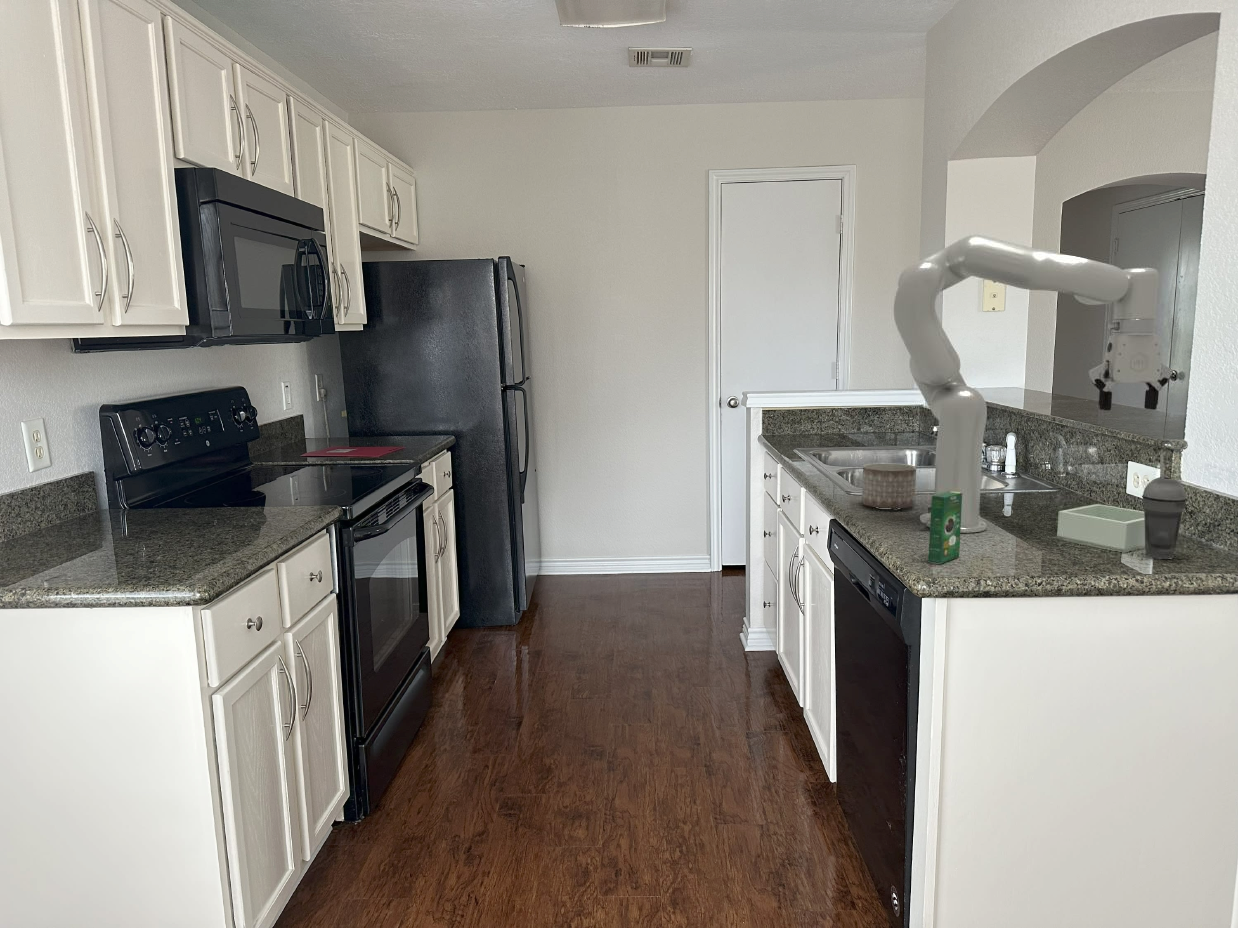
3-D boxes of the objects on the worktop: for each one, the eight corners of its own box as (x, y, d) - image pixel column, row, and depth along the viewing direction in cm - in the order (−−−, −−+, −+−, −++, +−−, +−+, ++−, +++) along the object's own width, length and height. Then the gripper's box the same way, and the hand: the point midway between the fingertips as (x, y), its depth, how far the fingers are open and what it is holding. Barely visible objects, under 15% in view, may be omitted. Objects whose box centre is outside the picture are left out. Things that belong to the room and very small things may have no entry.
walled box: (1124, 553, 168) (1126, 523, 167) (1056, 539, 180) (1058, 511, 179) (1162, 543, 175) (1165, 515, 174) (1095, 530, 187) (1097, 503, 186)
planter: (922, 506, 216) (924, 465, 215) (902, 514, 207) (904, 472, 205) (874, 500, 224) (875, 461, 223) (853, 508, 215) (854, 467, 213)
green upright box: (946, 554, 169) (949, 489, 167) (960, 557, 167) (963, 491, 165) (926, 562, 164) (929, 494, 162) (941, 565, 162) (944, 496, 160)
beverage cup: (1165, 563, 161) (1174, 458, 158) (1128, 554, 167) (1136, 453, 164) (1190, 558, 164) (1199, 455, 161) (1153, 550, 170) (1161, 450, 167)
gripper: (1102, 328, 176) (1097, 411, 179) (1186, 327, 176) (1179, 410, 179) (1083, 329, 184) (1077, 408, 186) (1163, 328, 184) (1157, 407, 186)
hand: (1127, 409), depth 183 cm, fingers open, 9 cm apart
